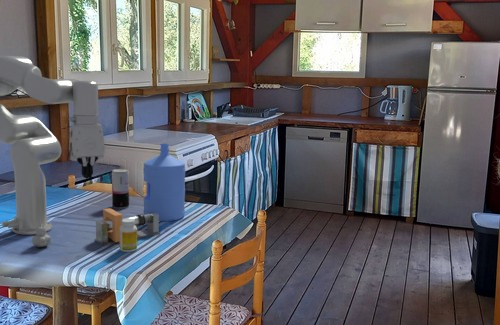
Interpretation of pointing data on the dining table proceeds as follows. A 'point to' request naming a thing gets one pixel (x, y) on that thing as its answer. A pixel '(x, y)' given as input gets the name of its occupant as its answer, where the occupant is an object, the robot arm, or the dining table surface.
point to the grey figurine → (41, 237)
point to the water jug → (165, 186)
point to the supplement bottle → (128, 235)
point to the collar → (113, 223)
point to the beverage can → (120, 188)
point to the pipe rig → (140, 220)
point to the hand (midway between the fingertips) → (87, 177)
